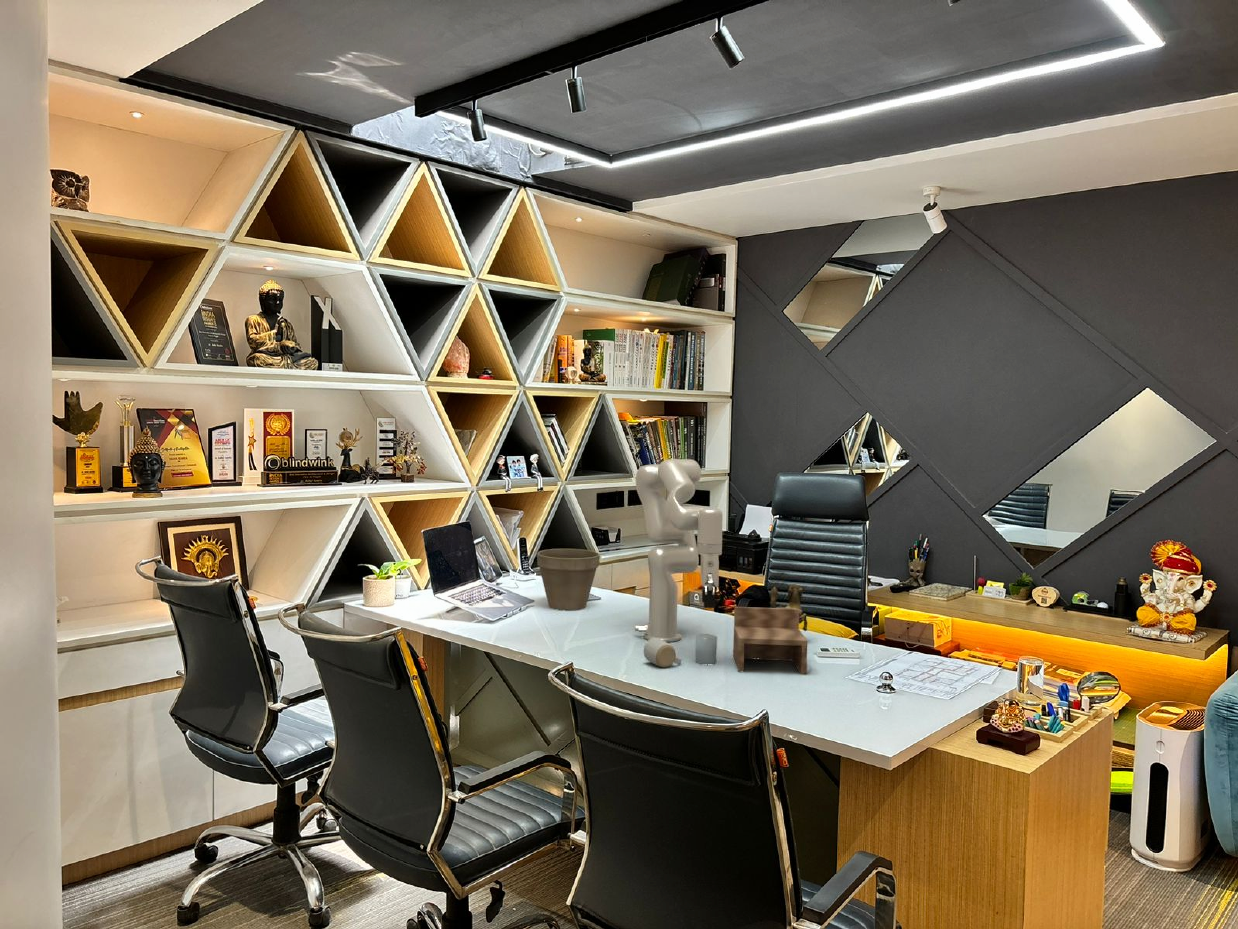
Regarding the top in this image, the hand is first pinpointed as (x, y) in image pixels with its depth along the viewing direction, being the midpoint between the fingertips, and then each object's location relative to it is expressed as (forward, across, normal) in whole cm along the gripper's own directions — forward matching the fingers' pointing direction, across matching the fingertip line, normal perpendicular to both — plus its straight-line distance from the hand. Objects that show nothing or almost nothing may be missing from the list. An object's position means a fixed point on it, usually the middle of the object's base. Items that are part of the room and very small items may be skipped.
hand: (708, 605), depth 277 cm
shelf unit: (+18, -1, -19) cm, 26 cm away
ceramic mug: (+18, -4, +13) cm, 23 cm away
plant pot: (+16, +79, +50) cm, 95 cm away
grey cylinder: (+18, +1, 0) cm, 18 cm away
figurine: (+18, +28, -26) cm, 43 cm away
